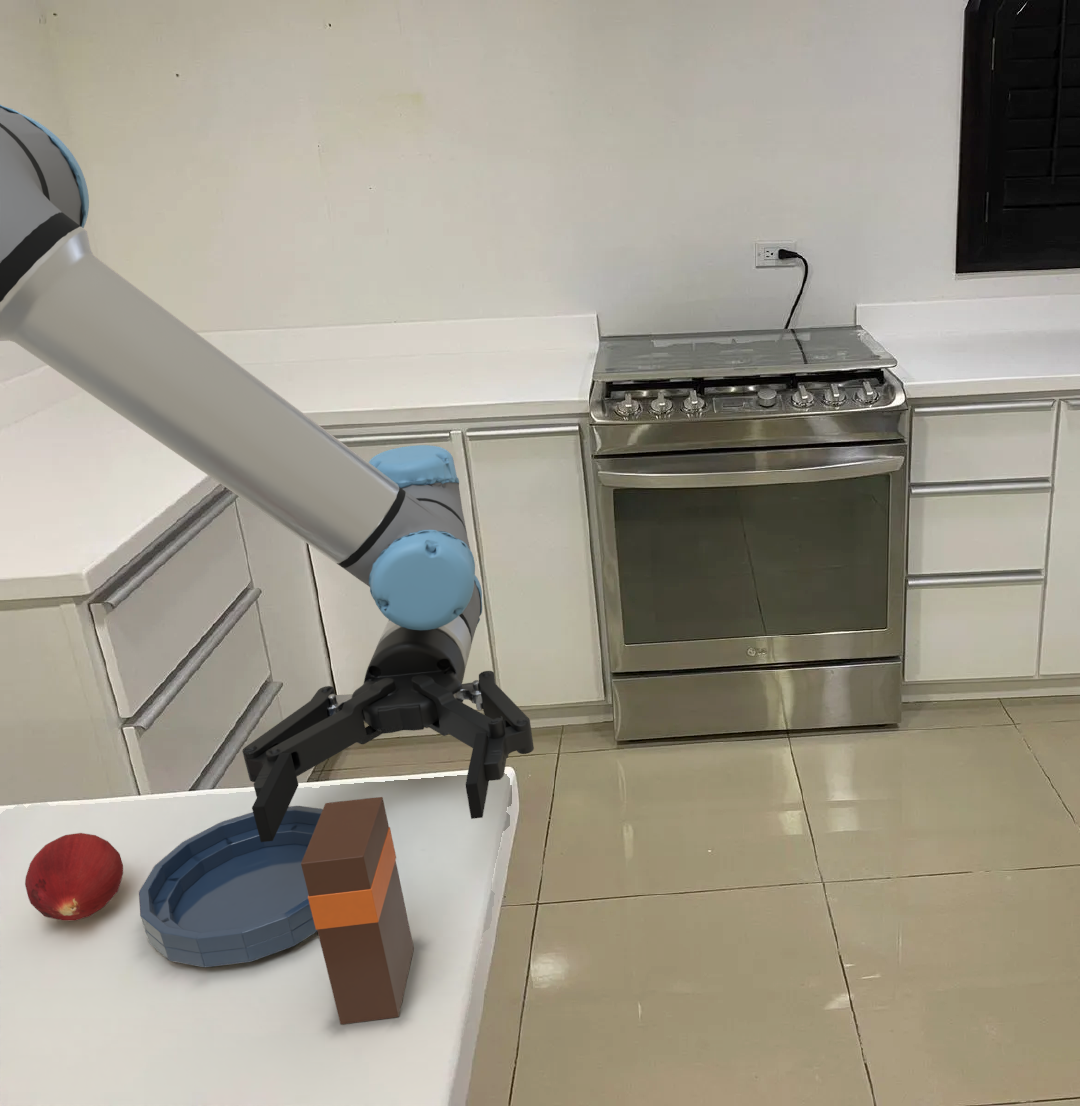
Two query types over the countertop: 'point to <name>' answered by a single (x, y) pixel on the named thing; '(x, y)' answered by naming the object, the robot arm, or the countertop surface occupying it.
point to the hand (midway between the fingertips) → (368, 813)
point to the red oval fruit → (74, 876)
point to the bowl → (231, 892)
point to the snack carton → (359, 909)
